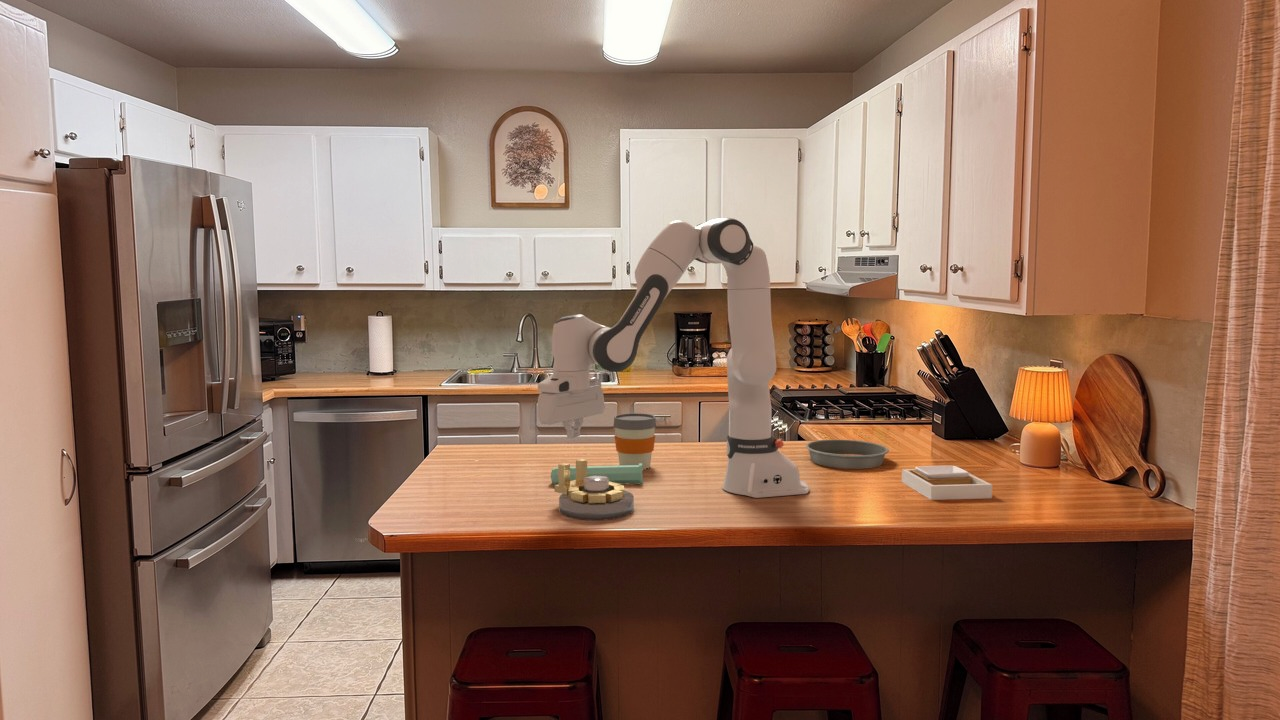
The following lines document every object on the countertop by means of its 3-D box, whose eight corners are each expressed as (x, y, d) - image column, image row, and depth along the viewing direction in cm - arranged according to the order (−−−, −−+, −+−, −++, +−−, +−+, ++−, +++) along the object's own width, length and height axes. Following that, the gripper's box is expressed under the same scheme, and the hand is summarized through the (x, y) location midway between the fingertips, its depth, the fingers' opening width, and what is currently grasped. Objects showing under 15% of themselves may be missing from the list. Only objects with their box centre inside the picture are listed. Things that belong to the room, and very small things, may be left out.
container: (549, 463, 220) (642, 461, 220) (551, 467, 226) (641, 465, 226) (549, 485, 218) (642, 483, 219) (551, 488, 224) (642, 486, 224)
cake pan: (898, 470, 237) (899, 455, 236) (813, 470, 237) (813, 455, 237) (876, 452, 261) (876, 438, 261) (799, 452, 262) (799, 438, 261)
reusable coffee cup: (662, 469, 238) (662, 418, 236) (622, 473, 233) (622, 421, 232) (646, 460, 250) (646, 412, 248) (607, 464, 245) (607, 414, 243)
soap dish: (955, 482, 224) (955, 464, 223) (972, 491, 214) (973, 472, 213) (911, 483, 222) (911, 465, 222) (926, 493, 213) (927, 474, 212)
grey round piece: (630, 498, 207) (630, 469, 207) (636, 519, 190) (636, 487, 189) (559, 500, 206) (559, 470, 205) (559, 521, 188) (558, 489, 187)
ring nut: (635, 494, 198) (635, 466, 197) (597, 506, 188) (597, 476, 187) (585, 483, 209) (585, 456, 208) (547, 493, 199) (546, 465, 198)
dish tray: (957, 480, 225) (958, 468, 224) (991, 498, 207) (992, 484, 206) (901, 482, 223) (902, 469, 223) (930, 499, 205) (931, 486, 205)
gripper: (591, 375, 210) (592, 428, 211) (532, 385, 194) (534, 442, 195) (609, 377, 206) (611, 431, 207) (551, 387, 190) (553, 445, 191)
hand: (573, 437), depth 201 cm, fingers closed
